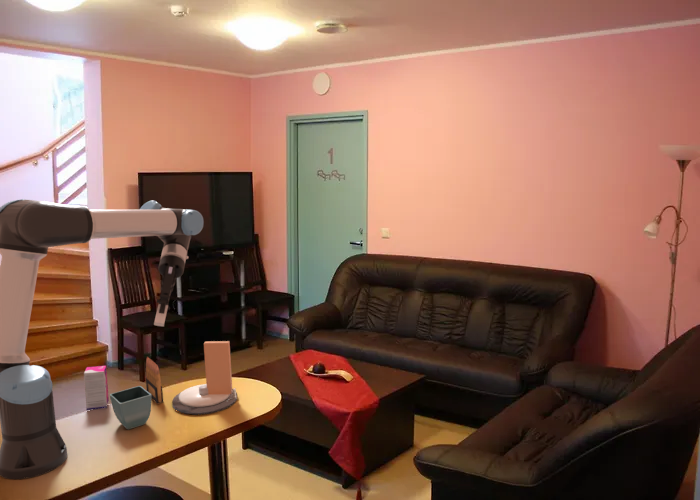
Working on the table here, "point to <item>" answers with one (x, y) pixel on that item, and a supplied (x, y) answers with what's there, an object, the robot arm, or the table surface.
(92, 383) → the supplement box
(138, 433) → the table surface
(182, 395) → the dial
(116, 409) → the flower pot
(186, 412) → the base
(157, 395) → the ammunition clip
